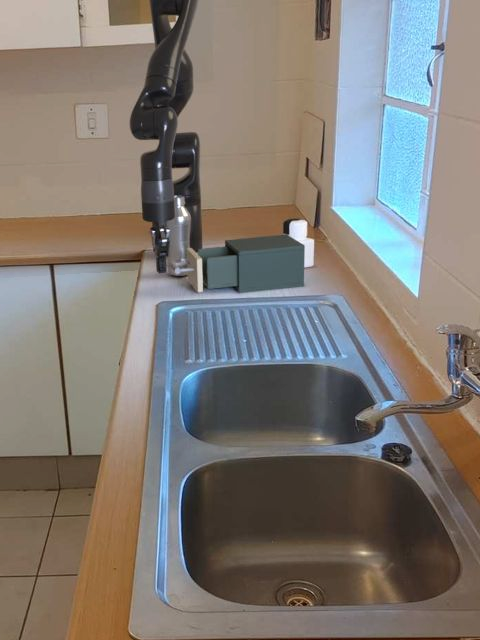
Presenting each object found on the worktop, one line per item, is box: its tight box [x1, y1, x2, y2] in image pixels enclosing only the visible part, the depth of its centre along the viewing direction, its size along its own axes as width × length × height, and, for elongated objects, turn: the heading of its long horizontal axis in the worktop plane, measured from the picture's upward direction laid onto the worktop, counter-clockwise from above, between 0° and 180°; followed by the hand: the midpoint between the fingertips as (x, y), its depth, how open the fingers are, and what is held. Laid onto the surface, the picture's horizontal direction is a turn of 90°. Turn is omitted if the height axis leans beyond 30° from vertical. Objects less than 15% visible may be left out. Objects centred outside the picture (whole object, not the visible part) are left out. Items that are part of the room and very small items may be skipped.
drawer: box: [169, 245, 238, 293], centre depth 180 cm, size 20×12×8 cm, turn 99°
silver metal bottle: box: [166, 196, 191, 277], centre depth 190 cm, size 6×7×20 cm
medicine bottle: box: [282, 218, 315, 269], centre depth 193 cm, size 7×7×12 cm
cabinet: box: [224, 234, 305, 294], centre depth 181 cm, size 16×13×10 cm
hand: (161, 272), depth 178 cm, fingers closed
